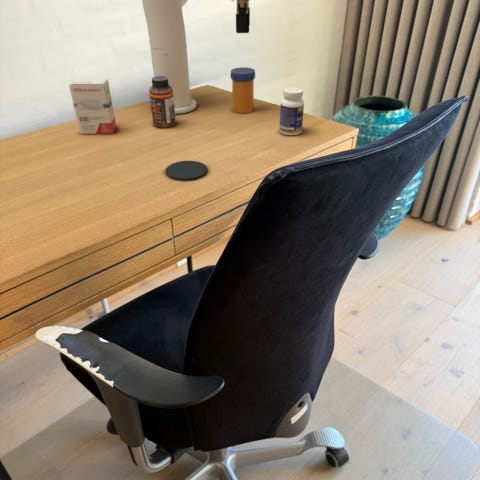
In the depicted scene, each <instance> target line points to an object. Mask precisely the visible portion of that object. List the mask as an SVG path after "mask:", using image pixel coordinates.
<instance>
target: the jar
mask: <svg viewBox="0 0 480 480" xmlns="http://www.w3.org/2000/svg"><path fill="white" fill-rule="evenodd" d="M231 85H232V87H231V88H232V91H231V92H232V93H231V95H232V111H233V112H234V113H237V114H249V113H252V112H253V111H254V106H255V105H254V103H255V102H254V101H255V100H254V96H255V95H254V94H255V91H254V89H255V79H254V80H251V81H244V82H242V81H234V80H232V79H231Z"/></svg>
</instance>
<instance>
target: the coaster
mask: <svg viewBox="0 0 480 480" xmlns="http://www.w3.org/2000/svg"><path fill="white" fill-rule="evenodd" d="M207 173H208V166H207V165H206V164H204V163H203V162H200V161H196V160H180V161H176V162H173V163H171V164H169V165H168V166H166V168H165V175H166V176H167V177H168V178H170V179H172V180H175V181H183V182H184V181H185V182H187V181H194V180H198V179H201V178H203V177H204V176H206V174H207Z"/></svg>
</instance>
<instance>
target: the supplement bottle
mask: <svg viewBox="0 0 480 480" xmlns="http://www.w3.org/2000/svg"><path fill="white" fill-rule="evenodd" d="M150 87H151V88H150V89H149V88H148V91H149V94H150V96H149V102H150V108H151V109H150V110H151V119H152V124H153V126H155V127H157V128H162V129H163V128H165V129H167V128H170V127H173V126H174V125H175V124H176V114H175V109H174V98H173V89H172V87H171V86H169V84H168V78H167V77H166V76H155V77H154V76H153V77H152V78H151V86H150Z"/></svg>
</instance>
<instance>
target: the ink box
mask: <svg viewBox="0 0 480 480" xmlns="http://www.w3.org/2000/svg"><path fill="white" fill-rule="evenodd" d="M68 87H69V92H70V95H71V100H72V104H73V108H74V113H75V118H76V121H77V125H78V129H79V133H80V134H81V135H88V134H91V135H92V134H93V135H96V134H97V135H99V134H101V135H102V134H111V135H112V134H113V133H114V132H115V131H116V130H117V122H116V116H115V111H114V105H113V99H112V95H111V89H110V83H109V79H107V78H93V79H91V78H89V79H88V78H87V79H84V78H83V79H81V78H80V79H74V80H73V81H71V82H70V83H69V84H68Z"/></svg>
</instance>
